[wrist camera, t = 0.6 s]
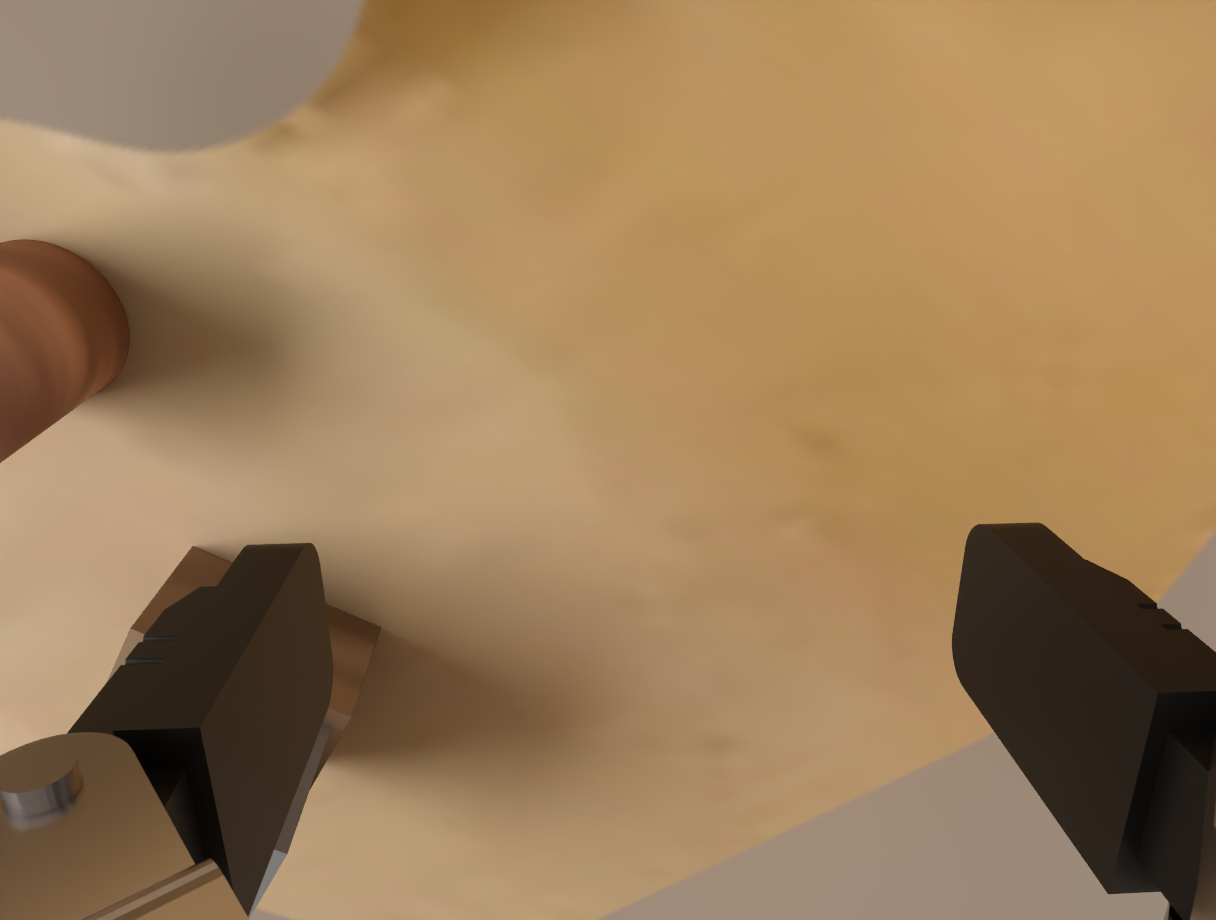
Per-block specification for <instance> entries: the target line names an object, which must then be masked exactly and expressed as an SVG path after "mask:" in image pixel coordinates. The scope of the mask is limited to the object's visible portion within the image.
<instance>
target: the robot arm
mask: <svg viewBox="0 0 1216 920" xmlns="http://www.w3.org/2000/svg"><path fill="white" fill-rule="evenodd" d="M952 653H953V660H954V665H955V669H956V673H957V675H958V678H959V680H960V682H961V684H962V686H963V688H964V689H965V691H966V692H967V693H968V695H969V696H970V698H971V699H972V700H973V702H974V703H975V705H976V706H977V708H978V709H979V710H980V712H981V713H982V715H983V716H984V718H985V719H986V720H987V722H988V723H989V725H990V726H991V728H992V729H993V730H994V732H995V733H996V735H997V736H998V738H999V739H1000V740H1001V742H1002V743H1003V745H1004V746H1005V748H1006V749H1007V750H1008V752H1009V753H1010V755H1011V756H1012V757H1013V759H1014V760H1015V762H1016V763H1017V765H1018V766H1019V768H1020V769H1021V770H1022V772H1023V773H1024V775H1025V776H1026V777H1027V779H1028V780H1029V782H1030V783H1031V785H1032V786H1033V787H1034V789H1035V790H1036V791H1037V793H1038V795H1039V796H1040V797H1041V799H1042V800H1043V802H1044V803H1045V805H1046V806H1047V807H1048V809H1049V810H1050V812H1051V813H1052V815H1053V816H1054V817H1055V819H1056V820H1057V822H1058V823H1059V824H1060V826H1061V827H1062V829H1063V830H1064V832H1065V833H1066V835H1067V836H1068V837H1069V839H1070V840H1071V842H1072V843H1073V845H1074V846H1075V847H1076V849H1077V850H1078V852H1079V853H1080V854H1081V856H1082V857H1083V859H1084V860H1085V861H1086V863H1087V864H1088V866H1089V867H1090V869H1091V870H1092V871H1093V873H1094V874H1095V876H1096V877H1097V879H1098V880H1099V882H1100V883H1101V884H1102V886H1103V887H1104V889H1105V890H1106V891H1107V893H1108V894H1120V893H1140V892H1161V893H1162V894H1163V895H1164V896H1165V898H1166V899H1167V900H1168V902H1169V903H1168V907H1167V910H1166V914H1165V917H1164V920H1216V652H1215V651H1213V650H1212V649H1211V648H1210V647H1209V646H1207V645H1206V644H1205V643H1204V642H1203V641H1201V640H1200V639H1199V638H1198V637H1197V636H1195V635H1194V634H1193V633H1192V632H1190V631H1189V630H1188V629H1182V628H1181V623H1179V622H1178V621H1177V620H1176V619H1175V618H1173V617H1172V616H1171V615H1170V614H1169V613H1167V612H1166V611H1165V610H1163V609H1158V608H1157V603H1155V602H1154V601H1153V600H1152V599H1150V598H1149V597H1148V596H1147V595H1146V594H1144V593H1143V592H1142V591H1141V590H1140V589H1138V588H1137V587H1136V586H1135V585H1134V584H1132V583H1131V582H1130V581H1129V580H1127V579H1125V578H1123V577H1121V576H1119V575H1117V574H1115V573H1113V572H1111V571H1108V570H1106V569H1104V568H1102V567H1100V566H1098V565H1096V564H1094V563H1092V562H1090V561H1088V560H1085V559H1083V558H1082V557H1081V556H1080V555H1079V554H1078V553H1076V552H1075V551H1074V550H1073V549H1072V548H1071V547H1069V546H1068V545H1067V544H1066V543H1065V542H1064V541H1062V540H1061V539H1060V538H1059V537H1058V536H1057V535H1055V534H1054V533H1053V532H1052V531H1051V530H1050V529H1048V528H1047V527H1046V526H1045V525H1043V524H1041V523H1007V524H978V525H976V526H975V527H973V528H972V530H971V531H970V533H969V535H968V538H967V541H966V546H965V552H964V559H963V566H962V572H961V579H960V586H959V593H958V599H957V606H956V613H955V620H954V627H953V634H952ZM332 685H333V656H332V648H331V641H330V634H329V626H328V619H327V612H326V604H325V597H324V590H323V582H322V575H321V568H320V562H319V557H318V553H317V551H316V548H315V547H314V545H313V544H311V543H295V544H262V545H247V546H245V547H244V548H243V550H242V551H241V552H240V554H239V555H238V557H237V558H236V559H235V561H234V562H233V564H232V565H231V566H230V568H229V569H228V571H227V572H226V573H225V575H224V576H223V578H222V579H221V580H220V582H219V583H218V585H217V586H205V587H199V588H197V589H196V590H194V591H193V592H191V593H189V594H188V595H186V596H185V597H183V598H182V599H180V600H179V601H177V602H176V603H174V604H173V605H171V606H169V607H168V608H166V609H165V610H164V611H163V612H162V613H161V614H160V616H159V617H158V618H157V620H156V621H155V622H154V623H153V625H152V626H151V627H150V628H149V630H148V631H147V632H146V634H145V635H144V636H143V642H138V644H137V645H136V646H135V648H134V649H133V650H132V651H131V653H130V654H129V655H128V656H127V658H126V659H125V665H120V667H119V668H118V669H117V670H116V672H115V673H114V674H113V676H112V677H111V678H110V679H109V681H108V682H107V683H106V684H105V686H104V687H103V688H102V690H101V691H100V692H99V693H98V695H97V696H96V697H95V698H94V700H93V701H92V702H91V704H90V705H89V706H88V707H87V709H86V710H85V711H84V712H83V714H82V715H81V716H80V718H79V719H78V720H77V721H76V723H75V724H74V725H73V726H72V728H71V729H70V730H69V732H68V733H67V734H62V735H56V736H52V737H48V738H44V739H40V740H37V741H34V742H31V743H28V744H25V745H23V746H20V747H18V748H16V749H13V750H11V751H9V752H7V753H5V754H3V755H1V756H0V920H249V918H248V916H249V914H250V911H251V909H252V906H253V903H254V901H255V898H256V896H257V893H258V890H259V888H260V885H261V883H262V880H263V877H264V875H265V872H266V869H267V867H268V864H269V862H270V859H271V856H272V854H273V851H274V849H275V846H276V843H277V841H278V838H279V836H280V833H281V830H282V828H283V825H284V822H285V820H286V817H287V815H288V812H289V809H290V807H291V804H292V802H293V799H294V796H295V794H296V791H297V789H298V786H299V783H300V781H301V778H302V775H303V773H304V770H305V768H306V765H307V762H308V760H309V757H310V755H311V752H312V749H313V747H314V744H315V742H316V739H317V736H318V734H319V731H320V729H321V726H322V723H323V721H324V718H325V715H326V713H327V710H328V707H329V704H330V699H331V694H332Z"/></svg>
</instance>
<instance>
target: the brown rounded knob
mask: <svg viewBox="0 0 1216 920" xmlns="http://www.w3.org/2000/svg"><path fill="white" fill-rule="evenodd" d="M128 349H129V327H128V321H127V317H126V314H125V311H124V308H123V306H122V304H121V302H120V299H119V298H118V296H117V294H116V293H115V291H114V289H113V288H112V287H111V285H110V284H109V283H108V281H107V280H106V279H105V278H104V277H103V276H102V275H101V274H100V273H99V272H98V271H97V270H96V269H95V268H94V267H93V266H91V265H90V264H89V263H88V262H86V261H85V260H83V259H82V258H81V257H79V256H77V255H76V254H74V253H72V252H70V251H68V250H66V249H64V248H61V247H59V246H56V245H53V244H49V243H46V242H41V241H35V240H13V241H7V242H3V243H0V463H1V462H2V461H4V460H5V459H6V458H8V457H9V456H10V455H12V454H13V453H14V452H16V451H17V450H19V449H20V448H21V447H23V446H24V445H25V444H27V443H28V442H30V441H31V440H32V439H34V438H35V437H36V436H38V435H39V434H41V433H42V432H43V431H45V430H46V429H47V428H49V427H50V426H52V425H53V424H54V423H56V422H57V421H58V420H60V419H61V418H62V417H64V416H65V415H67V414H68V413H69V412H71V411H72V410H73V409H75V408H76V407H78V406H79V405H80V404H82V403H83V402H84V401H86V400H87V399H89V398H90V397H91V396H93V395H94V394H95V393H97V392H98V391H100V390H101V389H102V388H104V387H105V386H106V385H108V384H109V383H110V382H111V381H112V380H113V379H114V378H115V377H116V376H117V375H118V373H119V372H120V370H121V369H122V367H123V365H124V362H125V360H126V357H127V353H128Z"/></svg>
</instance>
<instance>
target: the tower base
mask: <svg viewBox="0 0 1216 920" xmlns="http://www.w3.org/2000/svg"><path fill="white" fill-rule="evenodd" d="M232 564H233V563H230V562H228V561H226V560H223V559H221V558H219V557H216V556H214V555H212V554H209V553H207V552H205V551H202V550H200V549H198V548H195V547H193V546H192V548H191V549H190V550H189V552H188V553H187V554H186V556H185V557H184V558H183V560H182V561H181V562H180V564H179V565H178V566H177V567H176V569H175V570H174V571H173V573H172V574H171V575H170V577H169V578H168V579H167V581H166V582H165V583H164V585H163V586H162V587H161V589H160V590H159V591H158V593H157V594H156V595H155V597H154V598H153V599H152V601H151V602H150V603H149V605H148V606H147V607H146V608H145V610H144V611H143V612H142V614H141V615H140V616H139V618H138V619H137V620H136V622H135V623H134V624H133V626H132V627H131V628H130V631H129V633H128V635H127V637H126V640H125V642H124V644H123V647H122V649H121V651H120V653H119V656H118V658H117V660H116V663H115V665H114V667H113V670H112V672H111V674H110V676H109V679H110V678H111V677H112V676H113V674H114V673H115V672H116V670H117V669H118V668H119V667H120V665H125V659H126V658H127V656H128V655H129V654H130V653H131V651H132V650H133V649H134V648H135V646H136V645H137V644H138V642H143V636H144V635H145V634H146V632H147V631H148V630H149V628H150V627H151V626H152V625H153V623H154V622H155V621H156V620H157V618H158V617H159V616H160V614H161V613H162V612H163V611H164V610H165V609H166V608H168V607H169V606H171V605H173V604H174V603H176V602H177V601H179V600H180V599H182V598H183V597H185V596H186V595H188V594H189V593H191V592H193V591H194V590H196V589H197V588H199V587H205V586H217V585H218V583H219V582H220V580H221V579H222V578H223V576H224V575H225V573H226V572H227V571H228V569H229V568H230V566H231V565H232ZM326 612H327V619H328V626H329V634H330V641H331V648H332V656H333V685H332V694H331V699H330V704H329V707H328V710H327V713H326V715H325V718H324V721H323V722H324V723H327V724H329V725H332V727H331V730H330V733H329V736H328V739H327V741H326V744H325V747H324V750H323V753H322V756H321V759H320V761H319V764H318V767H317V770H316V773H315V776H314V779H313V782H312V784H311V787H312V785H313V783H314V782H315V780H316V778H317V777H318V775H319V773H320V771H321V770H322V768H323V766H324V764H325V763H326V761H327V759H328V757H329V756H330V754H331V752H332V750H333V749H334V747H335V745H336V744H337V742H338V740H339V738H340V737H341V735H342V733H343V731H344V730H345V728H346V726H347V724H348V723H349V721H350V719H351V717H352V714H353V711H354V708H355V705H356V702H357V699H358V696H359V693H360V690H361V687H362V684H363V681H364V678H365V675H366V672H367V669H368V666H369V662H370V659H371V656H372V653H373V650H374V647H375V644H376V641H377V638H378V635H379V632H380V629H381V627H379V626H376V625H374V624H372V623H369V622H367V621H365V620H363V619H360V618H358V617H356V616H353V615H351V614H349V613H346V612H344V611H342V610H339V609H337V608H335V607H332V606H330V605H328V604H326ZM109 679H108V681H109ZM108 681H107V682H108ZM311 787H310V789H311Z"/></svg>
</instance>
